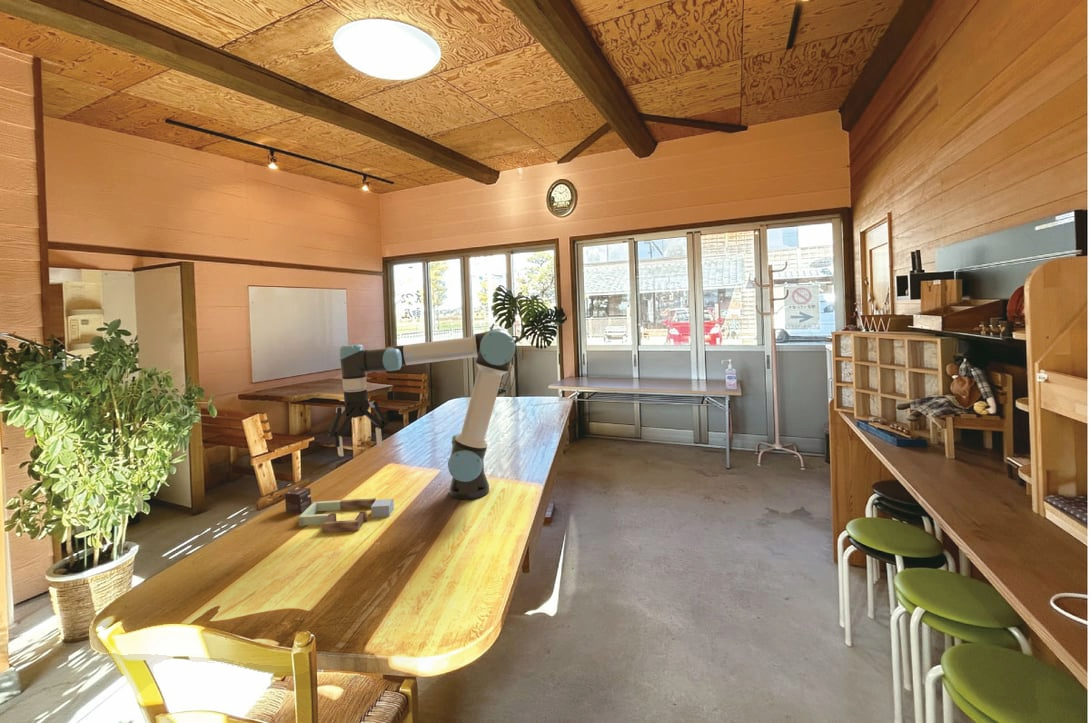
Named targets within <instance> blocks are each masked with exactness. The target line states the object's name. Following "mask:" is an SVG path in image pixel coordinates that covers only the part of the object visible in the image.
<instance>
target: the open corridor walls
mask: <svg viewBox="0 0 1090 723" xmlns="http://www.w3.org/2000/svg"><path fill="white" fill-rule="evenodd" d="M340 500H341V499H340ZM375 500H377V499H376V497H375V498H359V499H358V498H357V499H342V500H341V501H340V509H341V510H340V511H346V510H348V511H349V510H360V509H366V510H367V509H371V506H372V505H373V503H374V502H375ZM328 514H329V515H328V518H327V519H326V520H325V521H324V523H323V524H322V525H321V527H322V534H325V533H326V534H329V533H330V534H331V533H345V532H359V531H360V530H361V528H362V526H363V524H365V523H367V521H368V512H367V511H360V512H359V513H358V515H356V517H355V518H354V519H353V520H337V514H336V513H328Z"/></svg>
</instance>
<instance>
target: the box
mask: <svg viewBox="0 0 1090 723" xmlns="http://www.w3.org/2000/svg"><path fill="white" fill-rule="evenodd" d="M284 501H285V502H284V504H285V513H286V514H293V515H294V514H296V515H297V514H298V515H301V514H302V513H303V512H304V511H305V510H306V509H307V508H308V507H309V506H310V505H311V504H312V503H313V502H312V493H311V487H295V488H293V489H290V490H288V492H285V493H284Z"/></svg>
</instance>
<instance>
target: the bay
mask: <svg viewBox="0 0 1090 723" xmlns="http://www.w3.org/2000/svg"><path fill="white" fill-rule="evenodd" d="M340 501H341V499H339V500H323V501H320V500H319V501H313V502H311V503H312V504H311V505H310V506H309V507H308V508H307V509H306V510H305V511H304V512H303V513H302V514H299V516H298V527H305V525H308V526H322V524H323V523H324V521H325V520H326V519H327V518H328V515H329V514H330V513H320V514H319V513H318V512H329V511H331V512H332V511H342V510H341V509H340Z"/></svg>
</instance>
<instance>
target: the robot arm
mask: <svg viewBox="0 0 1090 723" xmlns="http://www.w3.org/2000/svg"><path fill="white" fill-rule="evenodd" d="M515 342H516V341H515V340H514V337H513V336H512V335H511V334H510V333H509V332H508V331H506V330H504V329H499V328H496V329H491V330H489V331H485V332H479V333H474V334H473V335H472V336H470V337H461V338H452V339H451V338H450V339H445V340H436V341H426V342H420V343H409V344H404V345H391V346H387V347H384V348H378V349H365V348H364V345H363V344H348V345H347V344H345V345H342V346H341V347H340V349H339V354H340V355H339V357H340V358H339V361H340V368H341V376H342V389H343V399H344V400H343V401H344V406H340V407H339V406H335V408H334V415H333V418H332V419H331V420H332V421H331V423H330V425H329V428H328V431H327V434H326V435H327V436H328V437H330V438H333V442H334V443H333V444H334V447H335V448H337V455H338V456H339V457H344V448H343V447H344V446H343V437H342V436H341V434H342V433H343V432H344V430H345V428H346V427H347V425H348V423H349V422H350V421H351V420H352V419H356V418H358V417H359V418H361V417H364V416H365V417H366V418H367V419H368V420H369V421H371V422H372V423H373V424H374V425H375V426H377V427H375V437H376V438H375V440H376V446H377V447H379V448H382V447H383V437H384V428H385V426H388V425H389V421H387V418H386V417H385V415H384V414H383V412H382V410H381V409H380V407H379V405H378V404H379V403H378V401H376V400H371V401H370V402H369V395H368V389H367V388H368V384H367V374H366V373H372V372H393V371H399V370H401V368H402V367H404V366H409V365H410V366H411V365H419V364H426V363H427V364H428V363H429V364H430V363H436V362H437V363H438V362H443V361H452V360H460V359H469V358H471V359H472V358H474V359H476V361H475V365H476V366H477V368H478V369H477V370H478V371H477V374H476V377H475V381H474V385H473V389H472V392H471V396H470V399H469V403H468V407H467V411H466V414H465V418H464V421H463V426H462V429H461V432H460V433H457V434H454V435H453V436H451V445H452V446H451V453H450V456H449V459H448V461H447V467H448V469H447V470H448V472H449V474H450V475H451V476H452V477H451V482H450V485H449V496H450V497H452V498H454V499H457V500H474V499H477V498H481V497H484V496H486V495H487V494H489V493H490V484H489V481H488V479H487V476H486V474H485V468H484V466H485V464H484V463H485V462H484V460H485V455H486V452H487V448H488V443H487V442H486V440H485V439H486V435H487V433H488V429H489V425H490V422H491V418H492V415H493V410H494V407H495V403H496V399H497V395H498V393H499V391H500V390H499V388H500V386H501V381H502V377H503V376H504V375H505V374H507V373H509V370H510V365H511V363H512V358H513V357H514V356H515V353H516V343H515ZM369 408H371V409H372V410H373V411H374V413H375V415H376V416H377V418H378V419H379V420H378V419H377V418H376V417H375V416H374V415H373V414H372V412H370V411H369ZM344 412H345V414H344V416H343V418H342V420H341V421H340V419H341V417H342V414H343V413H344ZM339 422H340V423H339ZM338 424H339V425H338Z"/></svg>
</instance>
